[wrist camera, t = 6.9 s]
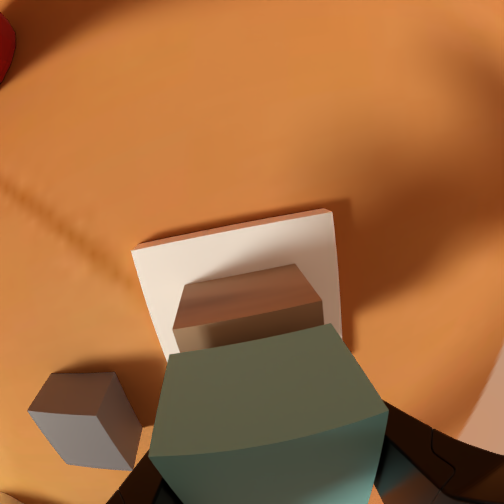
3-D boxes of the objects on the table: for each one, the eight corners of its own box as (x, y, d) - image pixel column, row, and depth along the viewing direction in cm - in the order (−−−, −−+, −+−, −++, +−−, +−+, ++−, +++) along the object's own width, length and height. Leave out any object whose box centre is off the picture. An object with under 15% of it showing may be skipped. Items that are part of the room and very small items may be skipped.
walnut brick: (305, 354, 15) (328, 405, 11) (210, 372, 15) (209, 428, 11) (295, 263, 14) (322, 300, 10) (184, 284, 14) (172, 329, 10)
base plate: (336, 361, 17) (342, 372, 16) (185, 390, 17) (184, 404, 15) (323, 208, 14) (332, 211, 13) (137, 244, 14) (131, 250, 13)
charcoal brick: (142, 426, 17) (132, 470, 14) (82, 425, 17) (66, 463, 13) (115, 370, 16) (96, 415, 12) (52, 372, 16) (27, 410, 12)
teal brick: (334, 426, 10) (367, 504, 7) (210, 451, 10) (211, 535, 6) (331, 322, 9) (388, 410, 5) (169, 354, 9) (147, 456, 5)
